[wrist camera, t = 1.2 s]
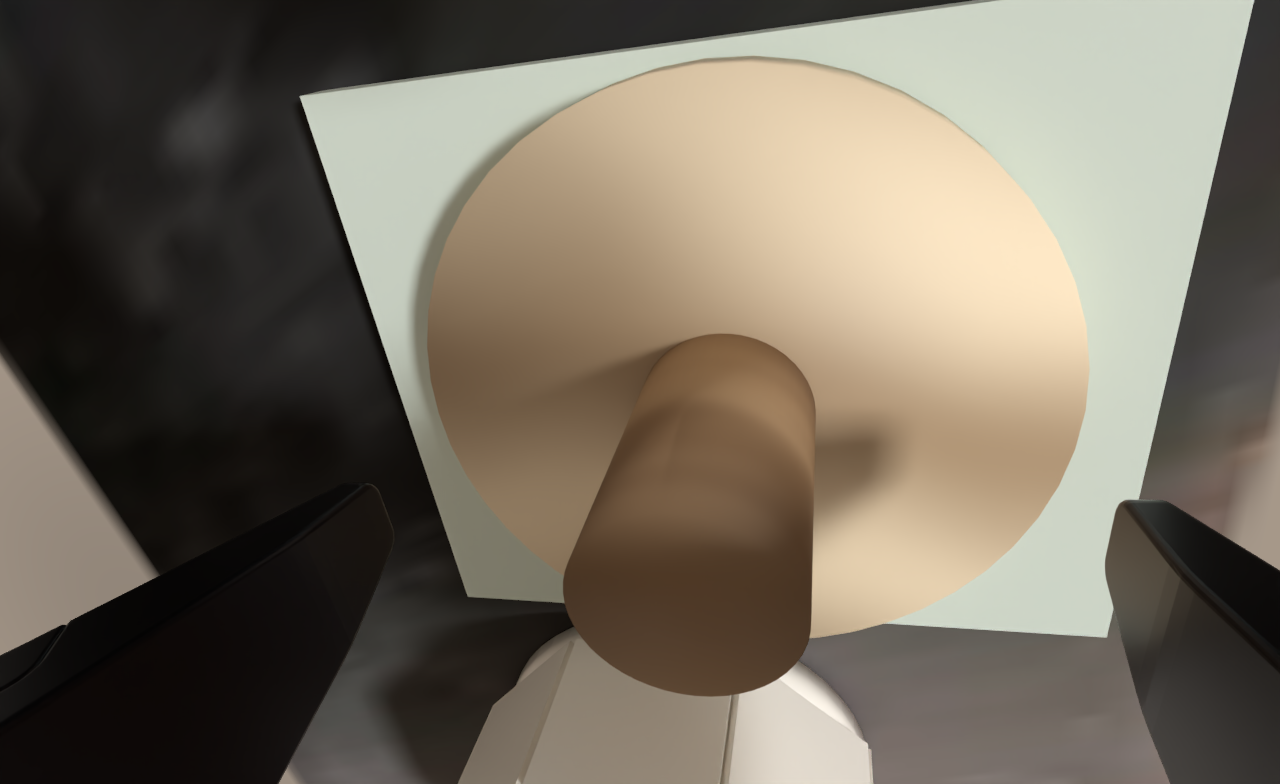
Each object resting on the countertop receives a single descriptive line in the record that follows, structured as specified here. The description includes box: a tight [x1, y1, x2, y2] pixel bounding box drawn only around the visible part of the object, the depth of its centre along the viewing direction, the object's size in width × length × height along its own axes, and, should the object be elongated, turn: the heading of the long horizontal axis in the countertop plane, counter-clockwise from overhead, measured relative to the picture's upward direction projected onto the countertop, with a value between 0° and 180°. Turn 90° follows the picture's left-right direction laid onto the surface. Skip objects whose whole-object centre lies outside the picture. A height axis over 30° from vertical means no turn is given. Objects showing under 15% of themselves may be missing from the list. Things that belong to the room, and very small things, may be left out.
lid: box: [427, 56, 1090, 697], centre depth 10 cm, size 10×10×5 cm
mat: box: [300, 0, 1254, 637], centre depth 12 cm, size 10×12×1 cm
